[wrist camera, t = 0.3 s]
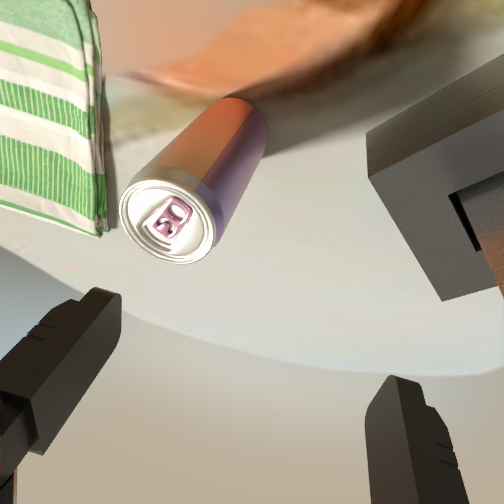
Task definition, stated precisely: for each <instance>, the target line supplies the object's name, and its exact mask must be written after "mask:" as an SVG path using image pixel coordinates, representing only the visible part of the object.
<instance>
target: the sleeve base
mask: <svg viewBox="0 0 504 504" xmlns="http://www.w3.org/2000/svg"><path fill="white" fill-rule="evenodd" d="M366 149H367V168H368V178H369V180H370V182H371V183H372V185H373V187H374V188H375V190H376V192H377V193H378V195H379V197H380V198H381V200H382V202H383V203H384V205H385V207H386V208H387V210H388V212H389V214H390V215H391V217H392V219H393V220H394V222H395V224H396V225H397V227H398V229H399V230H400V232H401V234H402V235H403V237H404V239H405V240H406V242H407V244H408V245H409V247H410V249H411V250H412V252H413V254H414V255H415V257H416V259H417V260H418V262H419V264H420V265H421V267H422V269H423V270H424V272H425V274H426V275H427V277H428V279H429V281H430V282H431V284H432V286H433V287H434V289H435V291H436V292H437V294H438V296H439V297H440V299H441V301H442V302H443V301H446V300H450V299H453V298H457V297H460V296H464V295H467V294H471V293H474V292H478V291H481V290H485V289H488V288H492V287H495V286H498V284H497V282H496V279H495V277H494V275H493V273H492V270H491V268H490V266H489V264H488V261H487V259H486V257H485V255H484V253H483V250H482V248H481V246H480V244H479V241H478V239H477V237H476V235H475V232H474V230H473V228H472V226H471V223H470V221H469V219H468V217H467V214H466V212H465V210H464V208H463V205H462V203H461V201H460V199H459V196H458V194H457V193H456V194H453V195H452V194H451V193H453V192H456V191H458V190H460V189H463V188H465V187H467V186H470V185H472V184H474V183H477V182H479V181H481V180H484V179H486V178H488V177H491V176H493V175H495V174H498V173H500V172H502V171H504V54H503V55H501V56H499V57H497V58H496V59H494V60H492V61H491V62H489V63H487V64H485V65H484V66H482V67H480V68H478V69H477V70H475V71H473V72H471V73H470V74H468V75H466V76H464V77H463V78H461V79H459V80H458V81H456V82H454V83H452V84H451V85H449V86H447V87H445V88H444V89H442V90H440V91H438V92H437V93H435V94H433V95H431V96H430V97H428V98H426V99H424V100H423V101H421V102H419V103H418V104H416V105H414V106H412V107H411V108H409V109H407V110H405V111H404V112H402V113H400V114H398V115H397V116H395V117H393V118H391V119H390V120H388V121H386V122H385V123H383V124H381V125H379V126H378V127H376V128H374V129H372V130H371V131H369V132H367V133H366Z"/></svg>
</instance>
